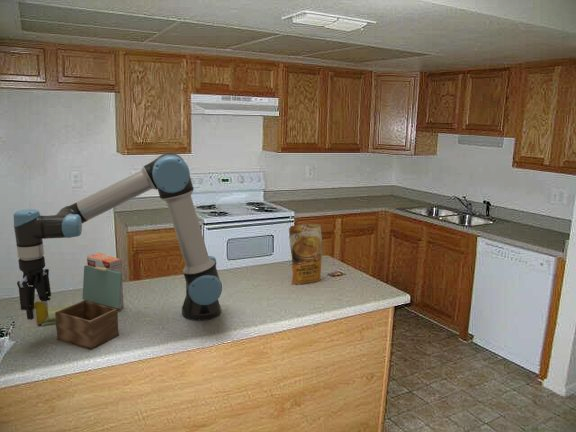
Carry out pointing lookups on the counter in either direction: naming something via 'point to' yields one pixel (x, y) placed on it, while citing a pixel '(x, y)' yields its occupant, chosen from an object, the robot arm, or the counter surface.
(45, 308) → the lemon
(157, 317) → the counter surface
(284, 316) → the counter surface
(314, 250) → the pancake mix bag
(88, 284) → the lid
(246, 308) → the counter surface
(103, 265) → the cracker box
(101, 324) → the box
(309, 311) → the counter surface
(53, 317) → the washcloth
